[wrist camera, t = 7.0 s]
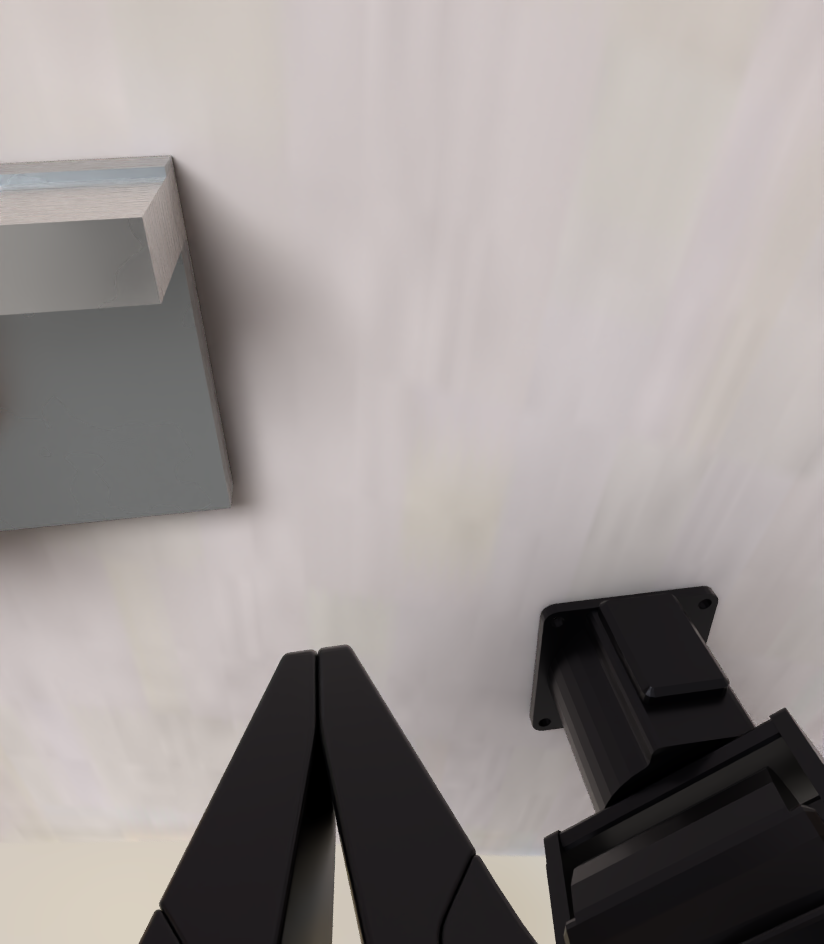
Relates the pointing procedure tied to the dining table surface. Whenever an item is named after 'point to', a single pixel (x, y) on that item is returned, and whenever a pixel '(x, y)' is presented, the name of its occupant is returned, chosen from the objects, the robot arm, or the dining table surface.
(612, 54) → the dining table surface
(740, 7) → the dining table surface
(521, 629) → the dining table surface
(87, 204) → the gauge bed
